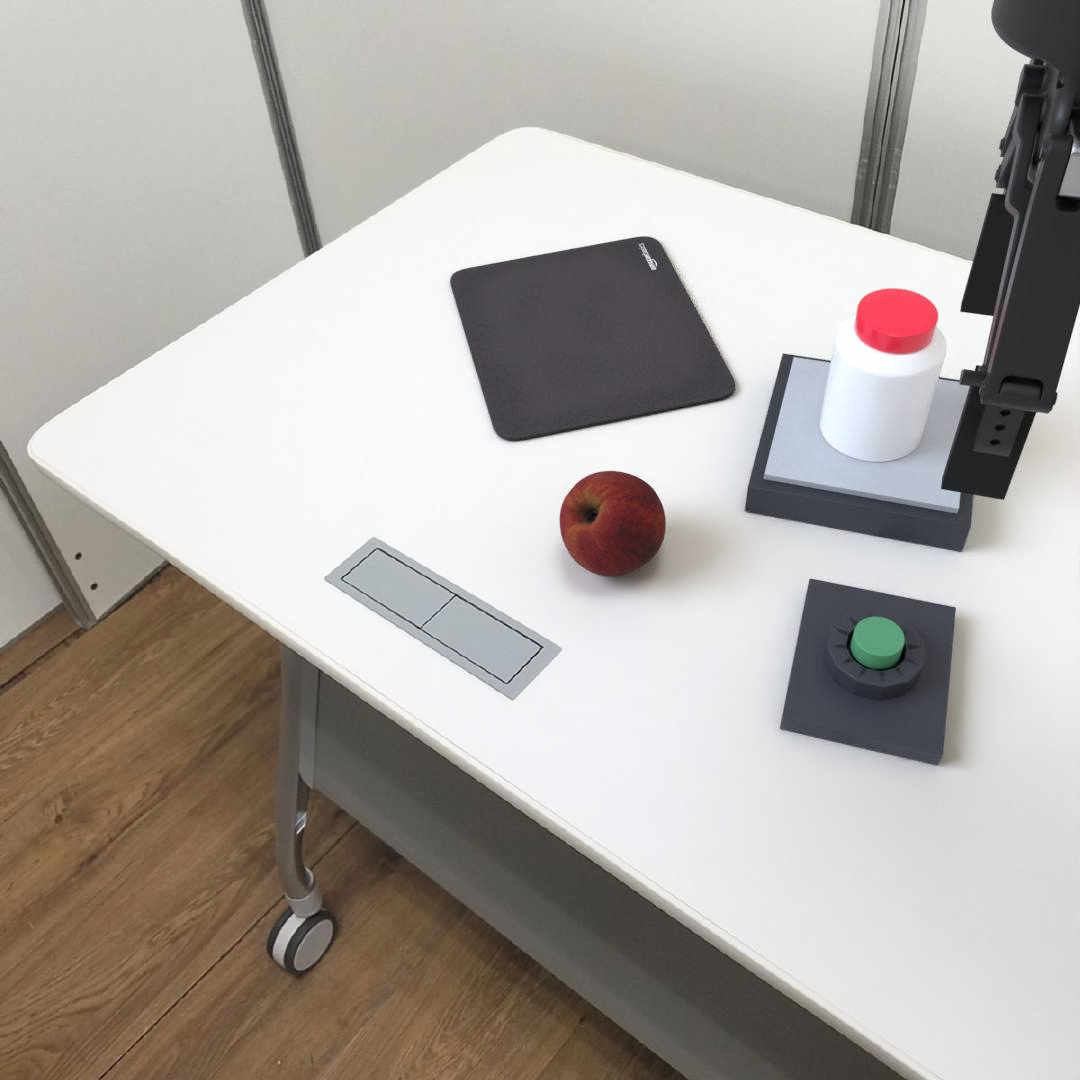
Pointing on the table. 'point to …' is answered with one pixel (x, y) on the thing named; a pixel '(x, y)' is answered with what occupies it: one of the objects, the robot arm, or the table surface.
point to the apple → (612, 523)
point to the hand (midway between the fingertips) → (980, 393)
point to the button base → (871, 674)
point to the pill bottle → (883, 376)
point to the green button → (877, 642)
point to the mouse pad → (586, 338)
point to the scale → (856, 468)
